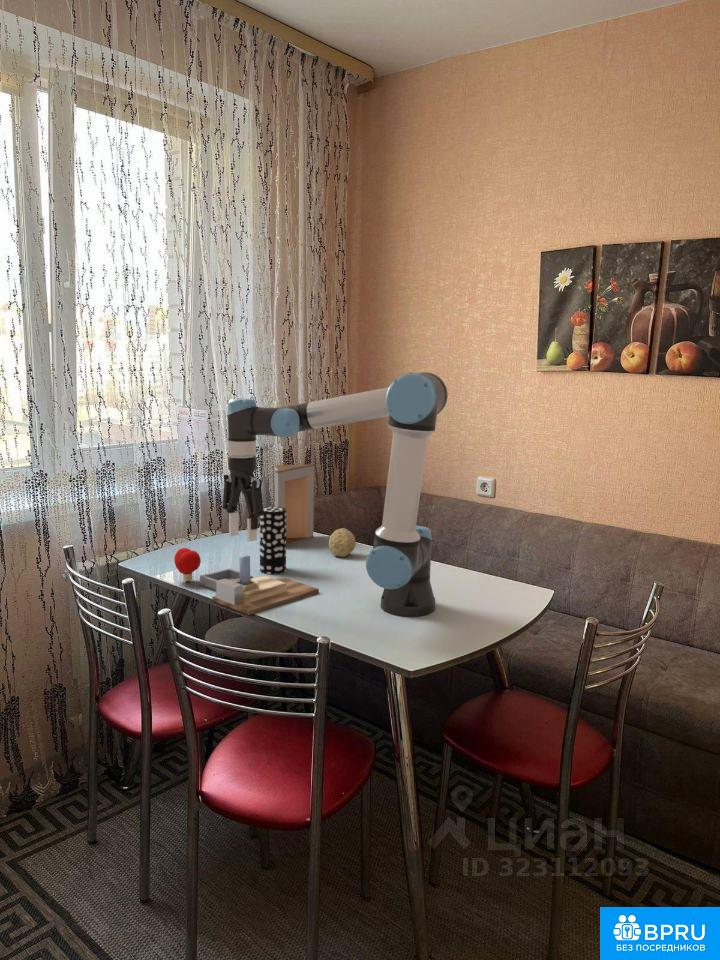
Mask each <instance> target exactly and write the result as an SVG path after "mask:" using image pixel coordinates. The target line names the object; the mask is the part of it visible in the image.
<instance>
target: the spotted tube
mask: <svg viewBox="0 0 720 960" xmlns="http://www.w3.org/2000/svg"><path fill="white" fill-rule="evenodd" d="M286 571H287V546H286V508H283V507H275V506H263V516H259V572H261V573H262V574H265V575H279V574H283V573H285V572H286Z"/></svg>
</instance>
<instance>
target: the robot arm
mask: <svg viewBox="0 0 720 960" xmlns="http://www.w3.org/2000/svg"><path fill="white" fill-rule="evenodd" d="M448 396H449V392H448V388H447V385H446V383H445V381H443V379H442V378H440V376H438V375H436V374H434V373H432V372H408V373H404V374H402V375H400V376H399V377H397V378H396V379H395V380H394V381H392V382H391V383H390V384H389V386H388V387H384V388H379V389H378V388H377V389H373V390H367V391H362V392H358V393H357V392H356V393H352V394H347V395H340V396H335V397H331V398H326V399H325V398H324V399H320V400H315V401H310V402H304V403H297V404H292V405H286V406H278V407H263V406H262V407H260V406H257V401H256V399H253V398H231V399H229V400H228V402H227V414H226V417H227V434H228V435H227V436H228V437H227V454H228V457H227V460H228V461H227V466H228V467H227V468H228V470H229V471H230V473H227V474H224V475H223V483H224V484H223V485H224V486H223V497H222V498H223V499H222V509H223V510H226V512H227V522H228V536H229V537H234V536H239V509H238V506H239V505H238V504H239V500H240V497H241V494H242V495H243V496H244V501H245V505H246V508H247V513H248V516H247V519H246V522H247V524H246V526H247V528H246V529H247V531H246V532H247V534H246V535H247V539H246V540H247V542H249V543H250V542H254V541H257V540H258V528H259V520H258V519H259V518H260V516H263V508H264V505H263V495H262V485H263V480H262V479H257V478H255V476H254V471H256V470H257V458H256V456H255V455H256V454H257V436H267V437H268V436H269V437H277V438H278V437H279V438H282V439H284V438H292V437H295V436H296V434H297V433H301V432H306V431H310V430H317V429H322V428H326V427H327V428H328V427H332V426H339V425H345V424H351V423H357V422H364V421H368V420H374V419H375V420H376V419H380V418H381V419H382V418H386V417H388V421H387V422H388V423H387V426H388V428H389V429H390V430H391V431H392V440H391V449H390V456H389V463H388V464H389V466H388V473H387V480H386V489H385V496H384V497H385V498H384V505H383V506H384V507H383V513H382V520H381V526H379V527H378V528H377V529H375V531H374V537H373V545H372V546H373V547H372V550H370V551H369V554H368V555H367V558H366V561H365V569H366V572H367V574H368V577H369V578H370V579H371V581H372V582H373V583H374V584H375V585H376V586H378V587H380V588H382V589H383V590H382V591H383V592H382V595H381V597H380V608H381V609H382V611H384V612H387V613H389V614H391V615H397V616H402V617H421V616H425V615H429V614H431V613H433V612H435V610H436V601H437V600H436V598H435V596H434V592H433V588H432V584H431V561H432V541H433V537H432V531H431V529H430V528H429V527H426V526H422V525H417V522H418V521H417V520H418V513H419V507H420V506H419V505H420V499H421V492H422V491H421V490H422V483H423V478H424V477H423V475H424V468H425V459H426V453H427V446H428V445H427V444H428V438H429V437H430V436H431V435H432V434H433V433H435V431H436V425H437V417H438V415H439V414H441V412H442V411H443V410H444V409H445V407H446V405H447V402H448V398H449V397H448Z"/></svg>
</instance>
